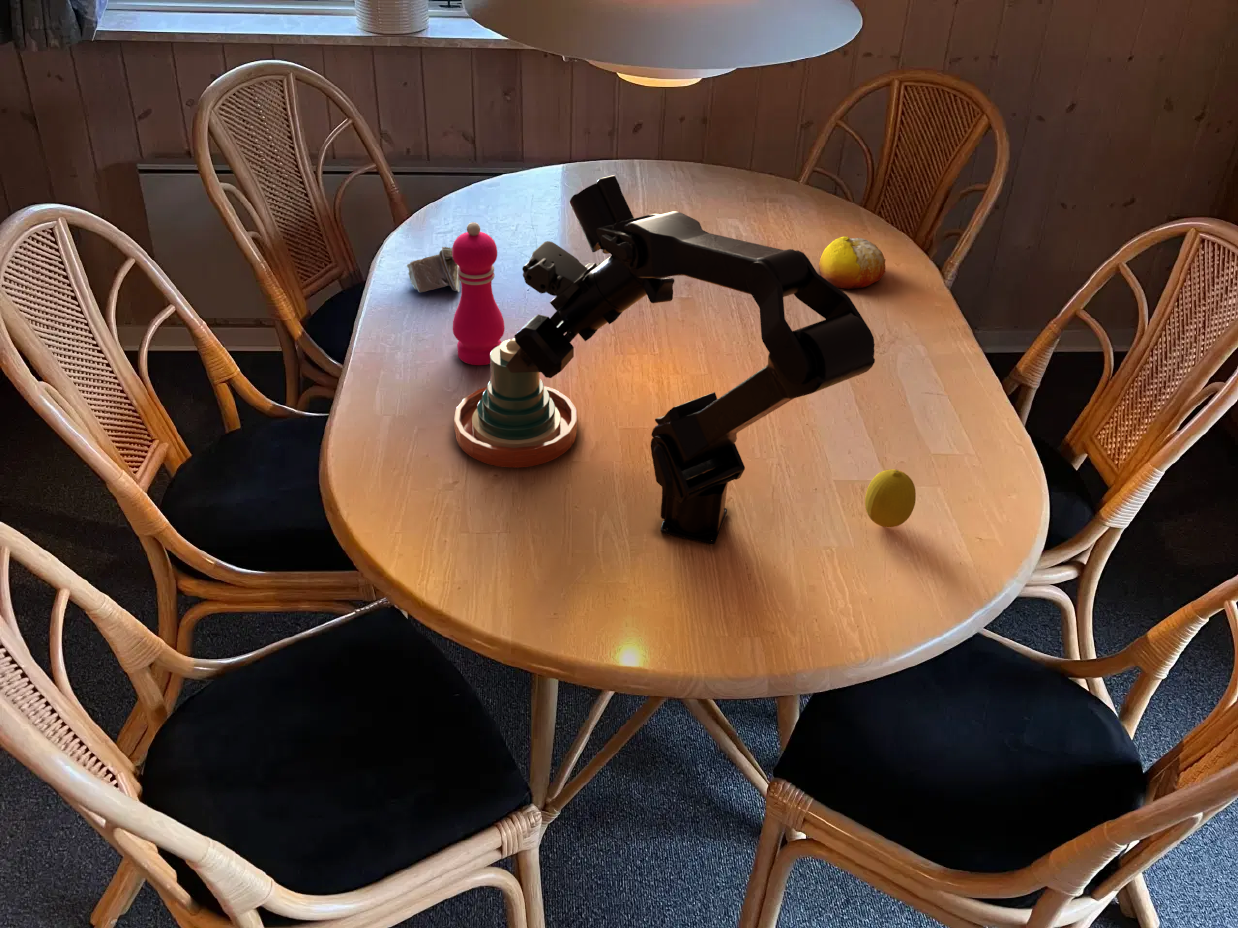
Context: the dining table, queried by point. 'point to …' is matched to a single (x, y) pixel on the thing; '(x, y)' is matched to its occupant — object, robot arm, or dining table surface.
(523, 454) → the tagine base
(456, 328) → the pepper mill
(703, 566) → the dining table surface
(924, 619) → the dining table surface
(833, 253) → the fruit
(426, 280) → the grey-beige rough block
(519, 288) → the dining table surface
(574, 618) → the dining table surface
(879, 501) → the lemon
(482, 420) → the tagine lid
